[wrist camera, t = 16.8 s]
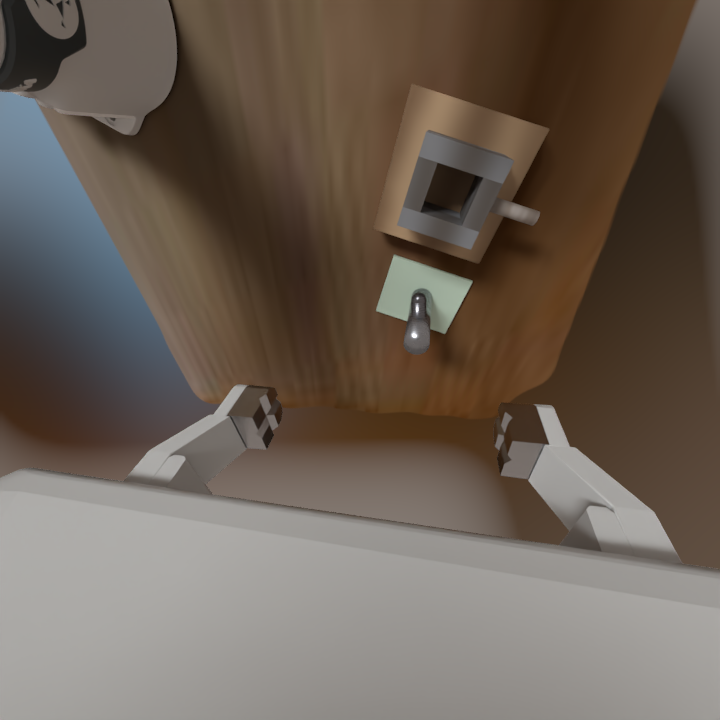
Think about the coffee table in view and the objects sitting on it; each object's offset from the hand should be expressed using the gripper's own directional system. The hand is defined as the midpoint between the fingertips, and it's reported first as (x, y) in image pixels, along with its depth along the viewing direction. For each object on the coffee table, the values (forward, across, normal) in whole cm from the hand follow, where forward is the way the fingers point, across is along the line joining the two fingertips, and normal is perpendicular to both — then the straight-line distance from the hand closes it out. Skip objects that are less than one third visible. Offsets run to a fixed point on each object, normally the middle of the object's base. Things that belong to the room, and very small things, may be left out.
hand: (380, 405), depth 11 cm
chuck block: (+30, -3, -2) cm, 30 cm away
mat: (+29, -1, +10) cm, 31 cm away
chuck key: (+29, -1, +10) cm, 31 cm away
